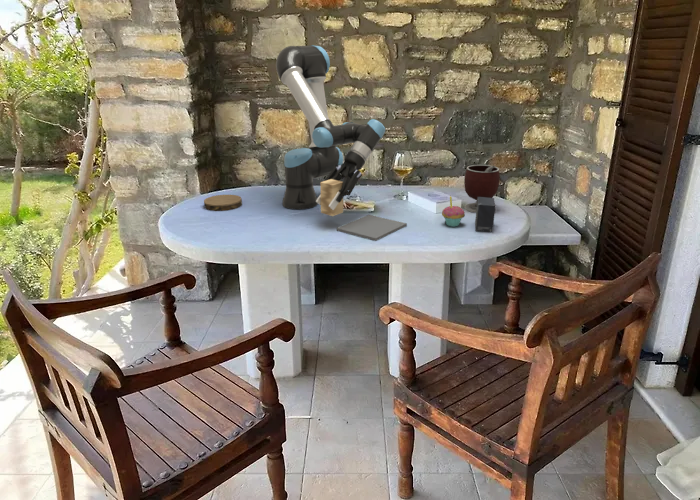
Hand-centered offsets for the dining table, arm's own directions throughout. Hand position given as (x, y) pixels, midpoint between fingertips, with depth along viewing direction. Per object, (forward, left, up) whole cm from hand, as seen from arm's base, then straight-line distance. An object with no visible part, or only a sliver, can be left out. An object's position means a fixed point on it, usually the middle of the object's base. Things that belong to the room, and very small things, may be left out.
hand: (324, 205), depth 193 cm
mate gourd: (+37, +56, -9) cm, 67 cm away
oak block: (+1, +4, -4) cm, 5 cm away
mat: (+15, +10, -8) cm, 20 cm away
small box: (+48, +36, -9) cm, 60 cm away
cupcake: (+37, +32, -9) cm, 49 cm away
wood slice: (-54, -5, -9) cm, 55 cm away
